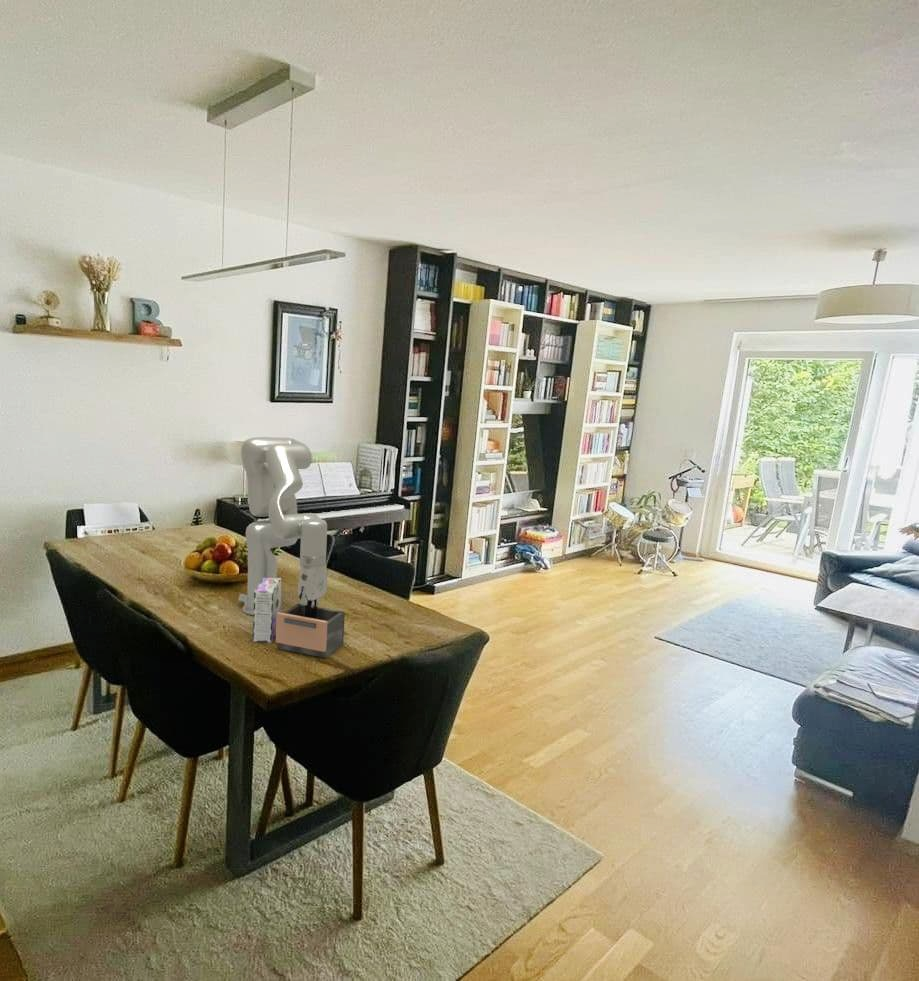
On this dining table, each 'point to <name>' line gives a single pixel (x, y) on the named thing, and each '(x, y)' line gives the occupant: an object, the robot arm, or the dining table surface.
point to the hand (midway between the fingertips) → (310, 618)
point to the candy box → (266, 609)
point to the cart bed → (333, 630)
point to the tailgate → (301, 631)
